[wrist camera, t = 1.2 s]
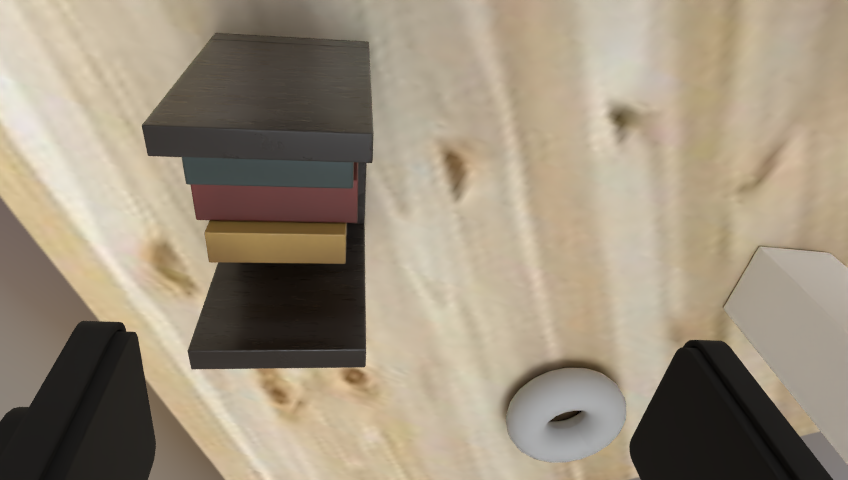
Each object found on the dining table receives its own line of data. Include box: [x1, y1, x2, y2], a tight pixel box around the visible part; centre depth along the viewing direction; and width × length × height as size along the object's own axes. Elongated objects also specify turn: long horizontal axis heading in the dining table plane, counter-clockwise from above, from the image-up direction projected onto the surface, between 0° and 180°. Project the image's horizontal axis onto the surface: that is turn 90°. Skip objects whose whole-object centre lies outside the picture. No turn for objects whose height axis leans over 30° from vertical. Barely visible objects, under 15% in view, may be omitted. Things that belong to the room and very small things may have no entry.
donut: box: [506, 368, 626, 462], centre depth 48 cm, size 10×4×10 cm
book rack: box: [142, 33, 373, 369], centre depth 29 cm, size 12×8×12 cm, turn 175°
